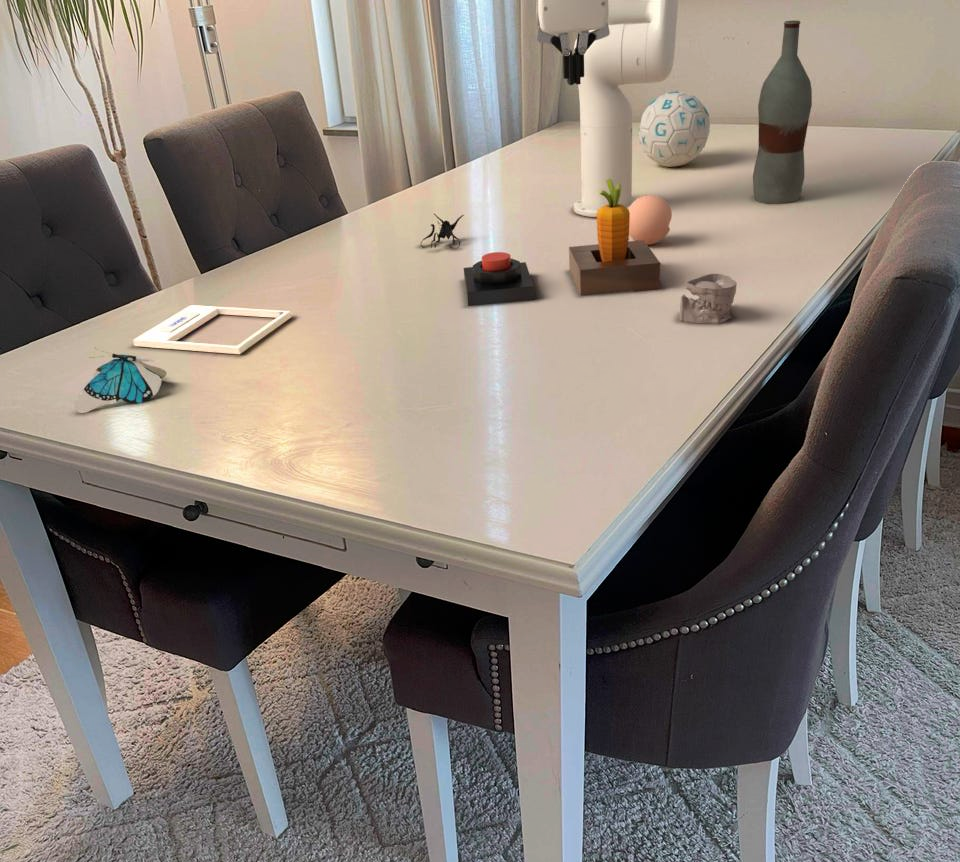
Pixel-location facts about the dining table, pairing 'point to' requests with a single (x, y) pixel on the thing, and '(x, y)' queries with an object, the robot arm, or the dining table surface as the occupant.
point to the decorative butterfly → (120, 383)
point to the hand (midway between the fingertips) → (573, 83)
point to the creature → (443, 232)
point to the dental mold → (708, 299)
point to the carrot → (613, 226)
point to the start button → (496, 261)
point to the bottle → (783, 125)
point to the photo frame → (198, 315)
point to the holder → (614, 270)
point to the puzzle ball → (674, 129)
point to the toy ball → (649, 219)
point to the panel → (498, 284)
